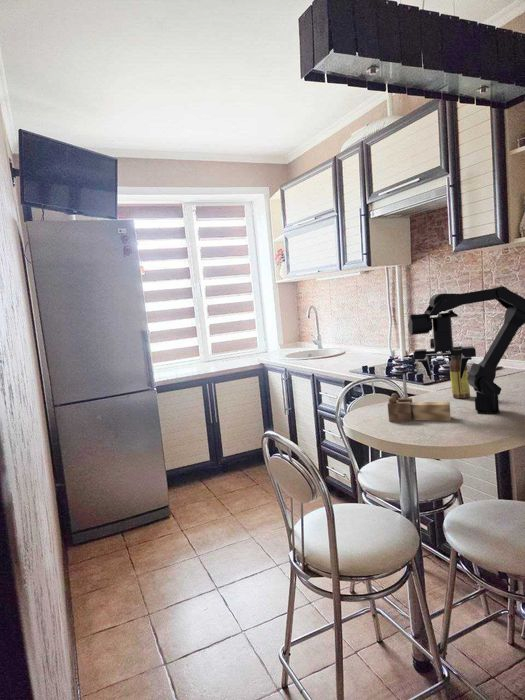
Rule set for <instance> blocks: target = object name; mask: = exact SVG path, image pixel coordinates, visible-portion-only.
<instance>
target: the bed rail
mask: <svg viewBox="0 0 525 700" xmlns="http://www.w3.org/2000/svg"><path fill="white" fill-rule="evenodd" d="M450 404H451V403H450V401H413V402H412V403H411V415H412V420H414V421H451V405H450Z"/></svg>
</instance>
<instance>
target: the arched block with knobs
mask: <svg viewBox="0 0 525 700" xmlns="http://www.w3.org/2000/svg"><path fill="white" fill-rule="evenodd" d="M411 403H413V398H412V397H408V398H403V397H399V394H397V393H394V392H393V393H392V394H391V396H390V397H389V398H388V402H387V411H388V412H387V413H388V422H412V420H413V419H412V415H411Z"/></svg>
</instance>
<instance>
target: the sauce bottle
mask: <svg viewBox="0 0 525 700" xmlns="http://www.w3.org/2000/svg"><path fill="white" fill-rule="evenodd" d="M462 347H463V346H462V345H453V350H459V349H462ZM461 356H462V355H451V359H450V361H449V362H448V363H449V364H448V365H449V375H450V377H449V378H450V383H451V393H452V397H453V398H454V399H460V398H461V399H468V398H470V396H471V391H470V390H471V389H470V385H469V383H468V380H467V377H468V375H469V374H467V373H468V372H469V370H468V366H467V364H468V363H467V364H466V366H465V369H464V372H463V376H462V379H460V368H461Z"/></svg>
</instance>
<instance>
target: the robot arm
mask: <svg viewBox="0 0 525 700" xmlns="http://www.w3.org/2000/svg"><path fill="white" fill-rule="evenodd" d="M493 300H496V301H497V303H499V304H500V305H501V306H502V307H503V308H505V309H506V310H505V313H504V319H503V323H502V326H501V327H500V329H499V331H498V332H497V335H496V336H495V338H494V340H492V343H491V345H490V346H489V348H488V349H487V352H486V354H485V355H484V357H483V359H482V360H481V361H480V362H479V363H476V362H475V363H474V362H473V363H472V364H471V367H470V369H469V370H468V373H467V374H468V377H467V380H468V383H469V386H470V387H472V388H473V390H474V392H475V395H476V396H474V408H475V409H474V410H475V411H476V412H477V414H500V413H501V411H500V404H499V402H500V401H499V395H501V391H502V388H501V387H500V386H499V385H498V384H497V383H495V379H496V375H497V367H498V365H499V363H500V361H501V360H502V358H503V357H504V355H505V353H506V351H507V349H508V348H509V347H510V344H511V343H512V341H513V339H514V338H515V336H516V335H517V332H518V331H519V329H520V328H521V327H522V326H524V325H525V298H524V297H523V296H522V295H520V294H518V293H515V292H513V291H511V290H510V289H509V288H507V287H506V286H502V285H501V286H495V287H493V288H486V289H481V290H474V291H470V292H463V293H437V294H434V295H432V296H431V297H430V299H429V302H428V304H429V305H427V308H426V309H425V311H424V313H418V314H415V313H411V314H409V315H408V317H409V318H408V323H407V329H408V332H409V335H410V336H414V335H415V336H416V335H426V334H430V332H431V331H432V335H433V337H432V338H429V341H430V342H429V343H430V350H428V351H427V348H421V349H420V348H419V349H415V350H414V351H413V360H415V361H416V360H417V362H418V363H421V364H422V366H423V367H424V369H425V371H426V373H427V376H428V377H429V380H432V379H433V378H432V370H431V367H430V366H431V365H430V361H429V357H446V356H447V357H448V356H449V357H450V356H452V355H462V356H461V368H460V379H462V376H463V372H464V369H465V366H466V364H468V362H469V360H470V361H471V360H472V358H475V357H477V352H476V350H477V349H476V347H475V346H462V349H459V350H453V346H454V340H453V327H452V318H457V317H458V316H459V315H458V314H457V313H455V311H454V310H452V309H456V308H458V307H460V306H463V305H468V304H469V305H470V304H474V303H476V304H477V303H483V302H487V301H493ZM431 349H434V350H431Z"/></svg>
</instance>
